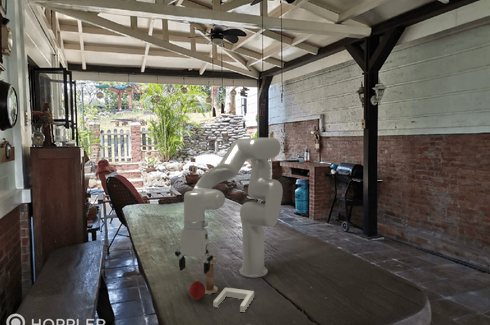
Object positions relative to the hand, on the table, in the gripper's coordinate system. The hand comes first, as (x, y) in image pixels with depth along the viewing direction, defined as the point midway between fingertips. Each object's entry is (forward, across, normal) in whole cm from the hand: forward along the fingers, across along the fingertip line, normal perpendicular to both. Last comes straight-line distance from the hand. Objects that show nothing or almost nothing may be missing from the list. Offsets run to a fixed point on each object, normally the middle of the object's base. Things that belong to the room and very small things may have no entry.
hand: (194, 270), depth 127 cm
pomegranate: (+12, -1, -1) cm, 12 cm away
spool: (+11, -2, -9) cm, 14 cm away
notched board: (+11, -15, -3) cm, 19 cm away
